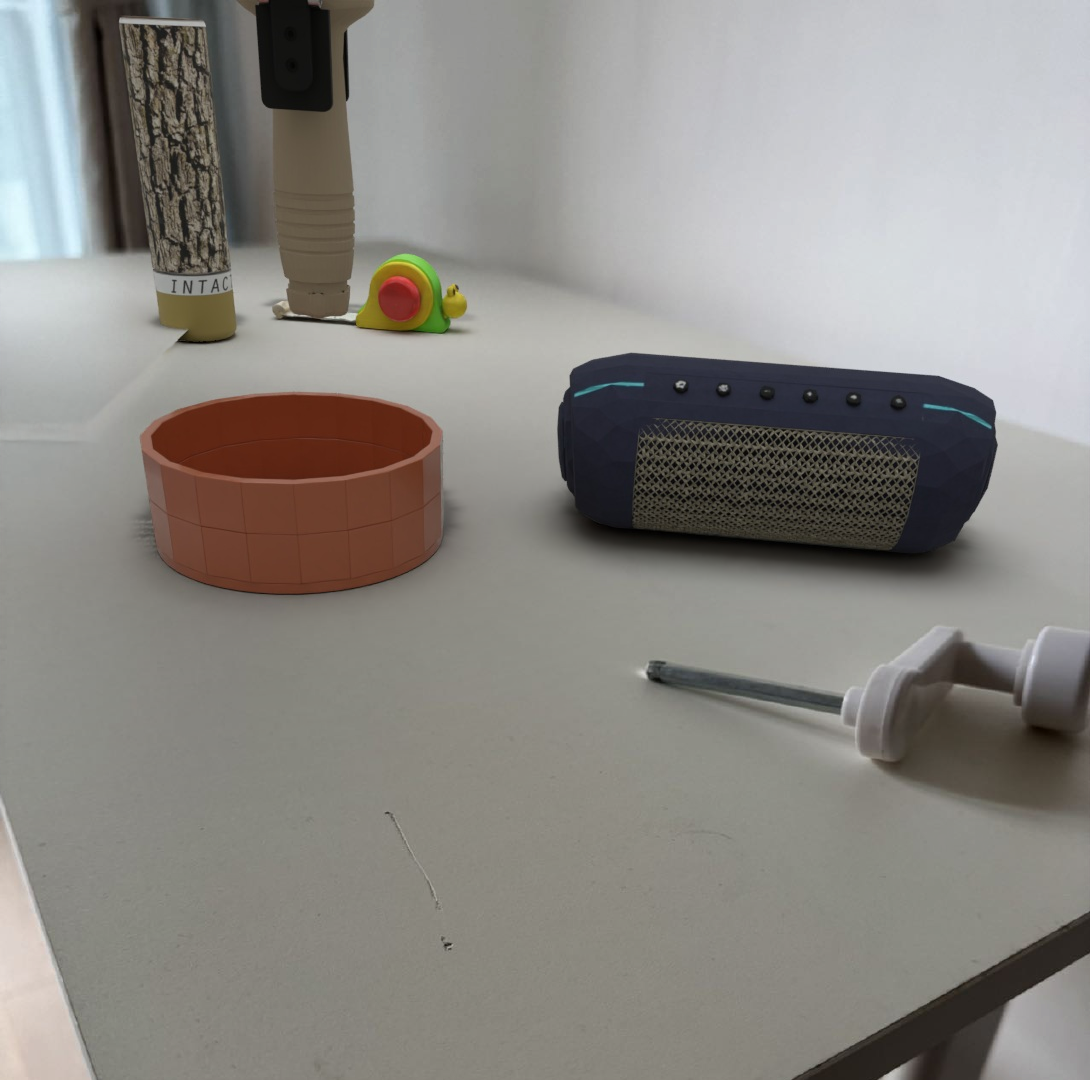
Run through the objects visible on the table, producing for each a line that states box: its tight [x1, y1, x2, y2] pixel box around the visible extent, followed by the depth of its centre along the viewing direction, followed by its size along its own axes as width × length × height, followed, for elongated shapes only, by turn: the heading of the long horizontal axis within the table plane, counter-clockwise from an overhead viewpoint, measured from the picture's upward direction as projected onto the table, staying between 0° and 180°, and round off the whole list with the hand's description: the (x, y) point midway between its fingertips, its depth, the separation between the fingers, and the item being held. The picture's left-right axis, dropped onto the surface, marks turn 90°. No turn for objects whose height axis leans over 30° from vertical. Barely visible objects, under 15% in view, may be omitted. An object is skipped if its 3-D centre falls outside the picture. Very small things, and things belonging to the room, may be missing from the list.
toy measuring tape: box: [271, 253, 468, 334], centre depth 109 cm, size 6×19×7 cm, turn 80°
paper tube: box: [118, 15, 238, 343], centre depth 98 cm, size 7×7×25 cm
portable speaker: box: [556, 352, 999, 554], centre depth 65 cm, size 25×10×10 cm, turn 82°
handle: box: [235, 0, 375, 319], centre depth 55 cm, size 5×6×15 cm
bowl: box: [139, 391, 445, 595], centre depth 64 cm, size 16×16×6 cm
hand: (307, 100), depth 54 cm, fingers closed on handle, 4 cm apart
